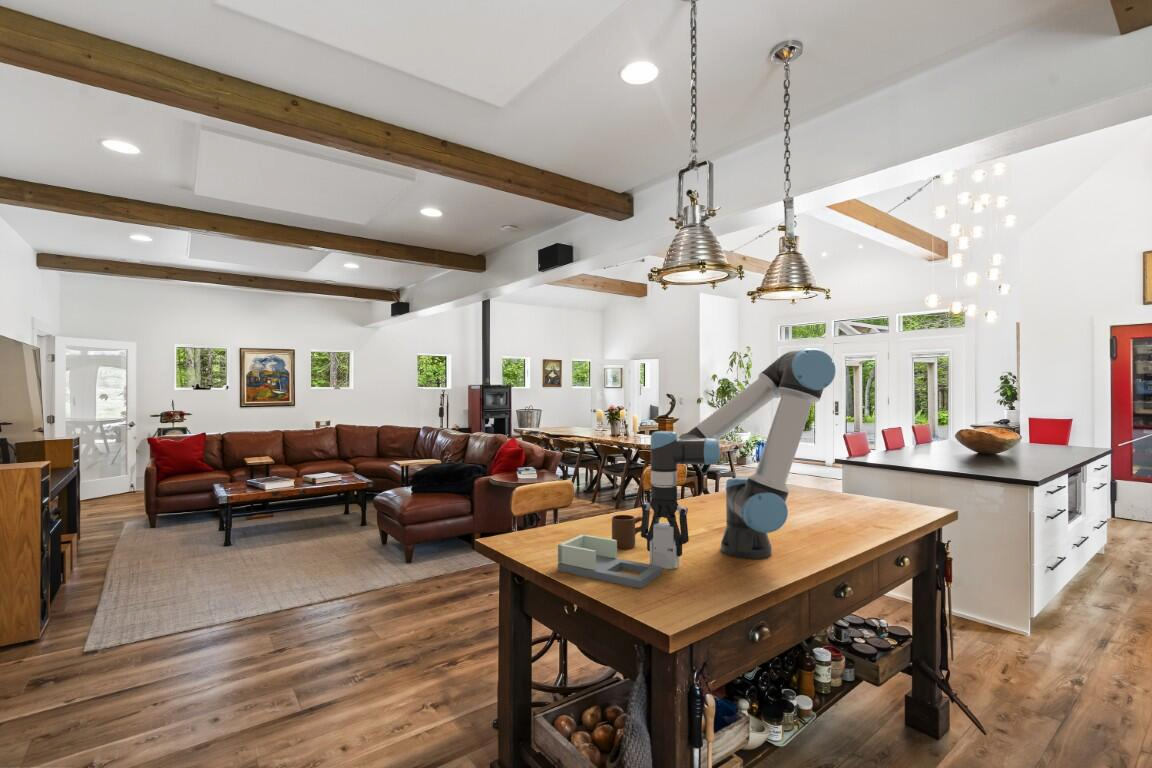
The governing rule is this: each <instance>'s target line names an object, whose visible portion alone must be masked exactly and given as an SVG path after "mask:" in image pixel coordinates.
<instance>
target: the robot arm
mask: <svg viewBox="0 0 1152 768" xmlns="http://www.w3.org/2000/svg"><path fill="white" fill-rule="evenodd" d="M835 375H836V365H835V362H834V361H833V359H832V357H831V355H829V354H828V353H827V352H826V351H824V350H823V349H818V348H813V347H812V348H811V347H806V348H803V349H800V350H799V349H798V350H791V351H788V352H786V353H784V354H782V355H780V357H778V358H777V359H776V360H774V361H773V362H771V364H770V365H768V366H767V367H766V368H765V369H764V370H763V371H761V372H760V373H759V374H758V379H756V380H755V381H754V382H752V383H751V384H750V385H748V386H747V387H746V388H744V389H743V390H742V391H740V392H739V393H737V394H736V395H735V396H734V397H733V398H731V399H730V400H729V401H726V403H725V404H723V405H722V406H721V407H720V408H718V409H716V411H714V412H713V413H711V414H709V416H707V417H706V418H704V420H702V421H701V422H700V423H698V424H697V425H696V426H695V427H693V428H691V429H690V430H689V431H688V432H685V433H682V434H680V435H679V436H678V434H677V432H676V431H669V430H668V431H667V430H666V431H665V430H659V431H657V430H656V431H654V432H652V433H651V436H650V447H649V448H650V484H651V486H650V498H651V500H650V502H644V503H642V504H641V512H642V516H641V517H642V521H641V524H642V526H641V525H640V526H641V532H640V537H641V538H644V539H646V549H647V552H649V564H650V565H653V526H654V524H656V523H658V522H660V519H661V518H663V519H666V520H667V523H669V524H670V527H673V531H674V534H673V537H674V540H675V543H676V544H674V545H673V569H677V568H679V567H680V557H681V556H683V545H686V544H687V543H689V542H690V541H689V540H690V538H689V530H688V529H689V528H688V518H687V514H688V511H689V509H688V507H683V506H680V505H679V503H678V487H677V484H678V465H706V466H708V465H716V464H718V463H719V461H720V457H721V447H720V443H719V440H721V438H723V437H724V436H726V435H727V434H729V433H730V432H731V431H732V430H733V429H735V428H736V427H737V426H739V425H740V424H741V423H743V422H745V420H746V419H748V418H749V417H751V416H752V415H753V414H755V413H756V412H757V411H759V410H760V409H761V408H763V407H764V406H766V405H767V404H768V403H769V402H770V401H772V400H773V399H779V402H778V405H777V408H776V410H775V414H774V417H773V420H772V423H771V426H770V429H769V431H768V435H767V437H766V441H765V443H764V446H763V450H762V453H761V455H760V459H759V462H758V463H757V467H756V471H755V473H753V474H751V475H749V476H748V477H735V478H734V477H731V478H728V479H727V480H726V482H725V483H726V487H725V495H726V497H725V500H726V501H725V503H726V506H725V511H726V513H725V514H726V519H725V520H726V526H725V529H724V532H723V535H722V539H721V541H720V551H721V552H722V553H723V554H726V555H727V556H731V557H735V558H739V559H748V560H749V559H750V560H753V559H754V560H755V559H757V560H759V559H764V558H769V557H770V556H772V544H771V541H770V538H769V535H768V534H770V533H773V532H776V531H778V530H779V529H781V528H782V527H783V525H785V523H786V521H787V519H788V515H789V514H788V513H789V510H788V506H787V503H786V501H787V499H788V495H789V493H790V491H789V489H788V486H787V484H786V483H787V480H788V477H789V474H790V472H791V469H792V466H793V463H794V459H795V456H796V454H797V450H798V447H799V444H800V442H801V439H802V436H803V433H804V430H805V427H806V423H807V422H808V421H807V420H808V418H809V416H810V411H811V409H812V407H813V405H814V404H816V403H818V402H820V400H821V398H822V395H823V391H824V390H825V389H826V388H827V387H829V386H830V385H831V384H832V383H833V381H834V379H835ZM651 509H652V511H653V515H652V519H651V522H650V513H651V512H650V510H651ZM676 512H678V513H677V514H678V515H679V516H678V519H679V525H678V522H677V516H676Z"/></svg>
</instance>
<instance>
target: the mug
mask: <svg viewBox="0 0 1152 768" xmlns="http://www.w3.org/2000/svg"><path fill="white" fill-rule="evenodd" d="M639 522H642V516H637V517H635V516H633V515H628V514H617V515H613V516H612V517H611V539H613V540H617V550H619V549H620V550H630V549H632V548H634V547H636V535H637V534H638V533H641V526H642V523H641V524H640V526H636V524H637V523H639Z"/></svg>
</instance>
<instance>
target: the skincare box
mask: <svg viewBox="0 0 1152 768" xmlns="http://www.w3.org/2000/svg"><path fill="white" fill-rule="evenodd" d="M673 534H674V531H673V527H670V524H669V522H661V521H659V522H658V523H656V524H654V526H653V564H652V565H655V566H661V567H662V569H665V570H666V569H667V570H673V569H674V568H673V545H674V544H676V543H675V540H674V537H673Z"/></svg>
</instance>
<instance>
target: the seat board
mask: <svg viewBox="0 0 1152 768" xmlns="http://www.w3.org/2000/svg"><path fill="white" fill-rule="evenodd" d="M621 570H624V571H628V572H632V573H639V574H637V575H632V574H626V573H623V572H618V571H621ZM662 571H663V568H662V567H661V566H655V565H653V564H650V563H644V562H639V561H634V560H628V559H623V558H622V559H621V558H618V557H617V558H611V557H606V556H600V555H596V569H595V570H592V569H587V568H582V567H578V566H573V565H568V564H563V563H558V562H557V572H563V573H566V572H567V573H568V574H572V575H576V576H579V577H586V578H589V579H595V580H599V581H603V582H608V583H614V584H616V585H617V584H618V585H623V586H627V587H631V588H636V589H640V590H641V589H642V588H644V587H646V586H647V585H649V584H650V583H652V582H653V581H654V580H655V579H656V578H658V577H660V576H661V575H662V573H663V572H662ZM567 573H566V574H567Z"/></svg>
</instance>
